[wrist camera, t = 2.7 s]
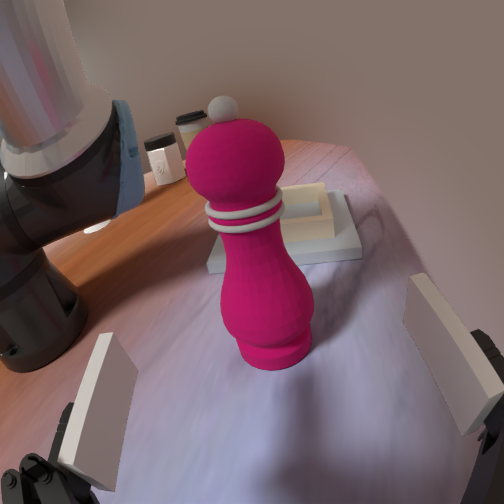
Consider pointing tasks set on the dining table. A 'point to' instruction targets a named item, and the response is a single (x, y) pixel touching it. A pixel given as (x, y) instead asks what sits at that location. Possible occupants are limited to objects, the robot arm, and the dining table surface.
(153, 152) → the jar
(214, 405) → the dining table surface
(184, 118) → the coffee cup
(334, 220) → the board
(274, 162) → the pepper mill
